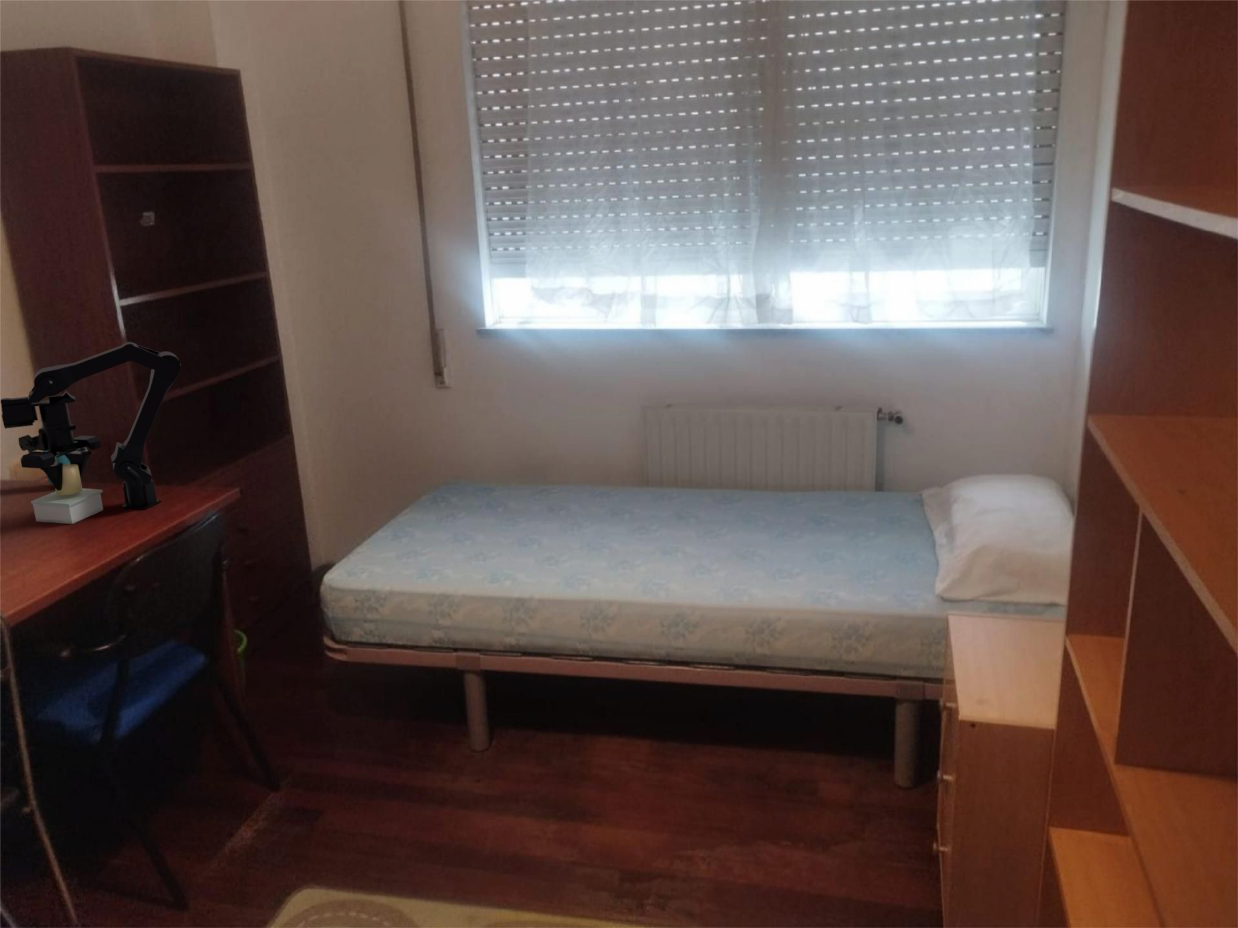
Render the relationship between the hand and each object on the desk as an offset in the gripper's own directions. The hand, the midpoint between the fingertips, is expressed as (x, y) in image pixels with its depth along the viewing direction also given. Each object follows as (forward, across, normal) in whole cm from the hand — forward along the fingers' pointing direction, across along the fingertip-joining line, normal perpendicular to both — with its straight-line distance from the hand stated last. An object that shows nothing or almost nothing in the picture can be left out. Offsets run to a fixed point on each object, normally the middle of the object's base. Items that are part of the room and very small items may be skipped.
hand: (68, 486), depth 228 cm
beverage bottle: (+8, -20, -21) cm, 30 cm away
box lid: (+3, 0, -1) cm, 3 cm away
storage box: (+7, 0, -1) cm, 7 cm away
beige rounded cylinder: (+1, 0, 0) cm, 1 cm away
